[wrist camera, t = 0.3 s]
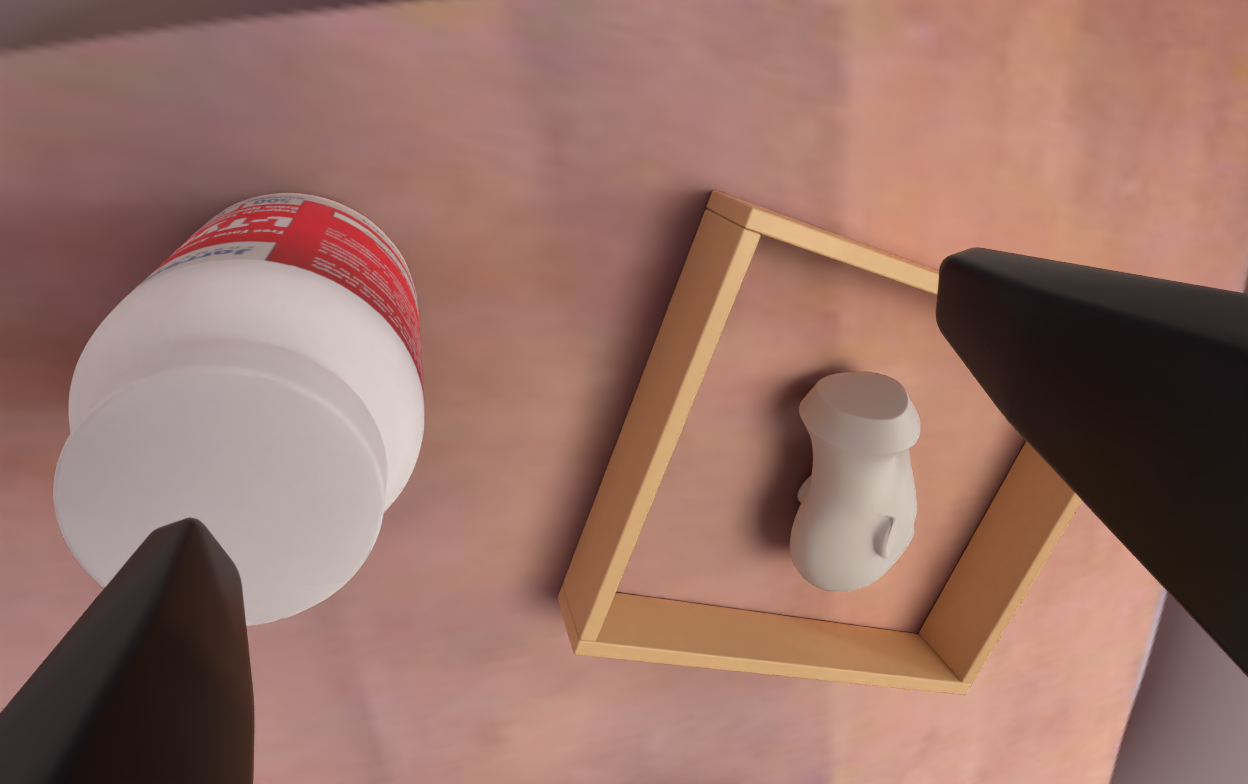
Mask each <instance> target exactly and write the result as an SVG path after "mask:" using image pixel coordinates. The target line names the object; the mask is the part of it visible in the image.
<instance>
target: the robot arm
mask: <svg viewBox="0 0 1248 784" xmlns="http://www.w3.org/2000/svg"><path fill="white" fill-rule="evenodd" d="M936 320H937V324H938V327H939V329H940V331H941V333H942V334H943V336H944V337H945V338H946V340H947V341H948V342H949V344H950V345H951V346H952V348H953V349H954V350H955V352H956V353H957V354H958V356H959V357H960V358H961V360H962V361H963V362H964V364H965V365H966V366H967V368H968V369H969V370H970V372H971V373H972V374H973V376H974V377H975V378H976V380H977V381H978V382H979V384H980V385H981V386H982V388H983V389H984V390H985V392H986V393H987V394H988V396H989V397H990V398H991V400H992V401H993V402H994V404H995V405H996V406H997V408H998V409H999V410H1000V411H1001V413H1002V414H1003V415H1004V416H1005V417H1006V419H1007V420H1008V421H1009V422H1010V423H1011V425H1012V426H1013V427H1014V428H1015V429H1016V430H1017V431H1018V432H1019V434H1020V435H1021V436H1022V437H1023V438H1024V439H1025V440H1026V441H1027V442H1028V443H1029V444H1030V445H1031V446H1032V448H1033V449H1034V450H1035V451H1036V452H1037V453H1038V454H1039V455H1040V456H1041V457H1042V458H1043V459H1044V460H1045V461H1046V462H1047V464H1048V465H1049V466H1050V467H1051V468H1052V469H1053V470H1054V471H1055V472H1056V473H1057V474H1058V475H1059V476H1060V477H1061V478H1062V480H1063V481H1064V482H1065V483H1066V484H1067V485H1068V486H1069V487H1070V488H1071V489H1072V490H1073V491H1074V492H1075V493H1076V494H1077V496H1078V497H1079V498H1080V499H1081V500H1082V501H1083V502H1084V503H1085V504H1086V505H1087V506H1088V507H1089V508H1090V509H1091V510H1092V512H1093V513H1094V514H1095V515H1096V516H1097V517H1098V518H1099V519H1100V520H1101V521H1102V522H1103V523H1104V524H1105V525H1106V526H1107V528H1108V529H1109V530H1110V531H1111V532H1112V533H1113V534H1114V535H1115V536H1116V537H1117V538H1118V539H1119V540H1120V541H1121V542H1122V544H1123V545H1124V546H1125V547H1126V548H1127V549H1128V550H1129V551H1130V552H1131V553H1132V554H1133V555H1134V556H1135V557H1136V558H1137V560H1138V561H1139V562H1140V563H1141V564H1142V565H1143V566H1144V567H1145V568H1146V569H1147V570H1148V571H1149V572H1150V573H1151V574H1152V576H1153V577H1154V578H1155V579H1156V580H1157V581H1158V582H1159V583H1160V584H1161V585H1162V586H1163V587H1164V588H1165V589H1166V590H1167V592H1168V593H1169V594H1170V595H1171V596H1172V597H1173V598H1174V599H1175V600H1176V601H1177V602H1178V603H1179V604H1180V605H1181V606H1182V608H1184V610H1185V611H1186V612H1187V613H1188V614H1189V615H1190V616H1191V617H1192V618H1193V619H1194V620H1195V621H1196V622H1197V623H1198V624H1199V626H1200V627H1201V628H1202V629H1203V630H1204V631H1205V632H1206V633H1207V634H1208V635H1209V636H1210V637H1211V638H1212V640H1213V641H1214V642H1215V643H1216V644H1217V645H1218V646H1219V647H1220V648H1221V649H1222V650H1223V651H1224V652H1225V653H1226V654H1227V655H1228V657H1229V658H1230V659H1231V660H1232V661H1233V662H1234V663H1235V664H1236V665H1237V666H1238V667H1239V668H1240V669H1241V670H1242V672H1243V673H1244V674H1245V675H1246V676H1247V677H1248V294H1246V293H1240V292H1234V291H1228V290H1222V289H1217V288H1211V287H1205V286H1199V285H1193V284H1188V283H1182V282H1176V281H1170V280H1164V279H1159V278H1153V277H1147V276H1141V275H1136V274H1130V273H1124V272H1118V271H1112V270H1107V269H1101V268H1095V267H1089V266H1083V265H1078V264H1072V263H1066V262H1060V261H1054V260H1049V259H1043V258H1037V257H1031V256H1025V255H1020V254H1014V253H1008V252H1002V251H996V250H991V249H985V248H970V249H967V250H965V251H962V252H959V253H956V254H953V255H950V256H948V257H946V258H945V259H944V260H943V262H942V263H941V266H940V270H939V280H938V291H937V303H936ZM253 772H254V696H253V684H252V675H251V665H250V656H249V646H248V637H247V627H246V618H245V608H244V599H243V589H242V582H241V578H240V574H239V572H238V569H237V567H236V565H235V564H234V562H233V561H232V559H231V558H230V557H229V556H228V554H227V553H226V552H225V550H224V549H223V548H222V547H221V545H220V544H219V543H218V541H217V540H216V539H215V537H214V536H213V535H212V534H211V532H210V531H209V530H208V528H207V527H206V526H205V525H204V524H203V523H202V522H201V521H200V520H198V519H197V518H191V517H189V518H185V519H182V520H179V521H176V522H173V523H170V524H168V525H165V526H162V527H159V528H157V529H155V530H153V531H152V532H151V533H150V534H149V535H148V537H147V538H146V539H145V540H144V541H143V543H142V544H141V545H140V546H139V547H138V549H137V550H136V551H135V552H134V553H133V555H132V556H131V557H130V558H129V559H128V561H127V562H126V563H125V564H124V565H123V567H122V568H121V569H120V570H119V571H118V573H117V574H116V575H115V576H114V577H113V579H112V580H111V581H110V582H109V583H108V585H107V586H106V587H105V588H104V589H103V591H102V592H101V593H100V594H99V595H98V597H97V598H96V599H95V600H94V601H93V603H92V604H91V605H90V606H89V607H88V609H87V610H86V611H85V612H84V613H83V615H82V616H81V617H80V618H79V619H78V621H77V622H76V623H75V624H74V625H73V627H72V628H71V629H70V630H69V631H68V633H67V634H66V635H65V636H64V637H63V639H62V640H61V641H60V642H59V643H58V645H57V646H56V647H55V648H54V649H53V651H52V652H51V653H50V654H49V655H48V657H47V658H46V659H45V660H44V661H43V663H42V664H41V665H40V666H39V667H38V669H37V670H36V671H35V672H34V673H33V675H32V676H31V677H30V678H29V679H28V681H27V682H26V683H25V684H24V685H23V687H22V688H21V689H20V690H19V691H18V693H17V694H16V695H15V696H14V697H13V699H12V700H11V701H10V702H9V703H8V705H7V706H6V707H5V708H4V709H3V711H2V712H1V713H0V784H253Z"/></svg>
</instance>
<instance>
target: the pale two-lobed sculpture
mask: <svg viewBox="0 0 1248 784" xmlns="http://www.w3.org/2000/svg"><path fill="white" fill-rule="evenodd" d="M799 414H800V417H801V419H802V421H803V423H804V424H805V426H806V428H807V430H808V432H809V435H810V437H811V441H812V447H813V468H812V475H811V476H810V477H809V478H808V479H807V480H806V481H805V482H804V483H803V484H802V486H801V487H800V489H799V491H798V495H797V496H798V500H799V501H800V503H801V505H800V507H799V510H798V512H797V514H796V517H795V520H794V523H793V526H792V531H791V536H790V551H791V557H792V560H793V563H794V565H795V567H796V569H797V570H798V572H799V573H800V574H801V575H802V576H803V578H805V579H806V580H807V581H808V582H809V583H811V584H812V585H814V586H816V587H818V588H821V589H824V590H827V591H834V592H847V591H853V590H857V589H860V588H863V587H866V586H868V585H870V584H872V583H874V582H875V581H877V580H878V579H879V578H881V577H882V576H883V575H884V574H885V573H886V572H887V571H888V570H889V569H890V568H891V567H892V566H893V565H894V564H895V562H896V561H897V560H898V559H899V557H900V556H901V555H902V554H903V552H904V551H905V550H906V548H907V546H908V545H909V543H910V541H911V540H912V538H913V535H914V524H913V523H914V521H915V517H916V513H917V501H916V490H915V484H914V478H913V472H912V467H911V461H910V454H909V448H911V447H912V446H913V445H914V444H915V443H916V442H917V440H918V438H919V435H920V419H919V415H918V412H917V410H916V408H915V406H914V405H913V403H912V401H911V399H910V397H909V395H908V393H907V392H906V390H905V388H904V387H903V386H902V385H901V384H900V383H899V382H898V381H896V380H894V379H893V378H890V377H888V376H885V375H882V374H878V373H872V372H844V373H837V374H832V375H829V376H826V377H824V378H822V379H820V380H819V381H818V382H817V383H816V384H815V386H814V387H813V388H812V389H811V390H810V391H809V393H808V394H807V395H806V396H805V398H804V399H803V400H802V401H801V403H800V405H799Z"/></svg>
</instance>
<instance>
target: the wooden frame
mask: <svg viewBox="0 0 1248 784" xmlns="http://www.w3.org/2000/svg"><path fill="white" fill-rule="evenodd" d="M759 233H760V234H762V235H765V236H768V237H771V238H774V239H777V240H780V241H783V242H785V243H788V244H791V245H794V246H797V247H800V248H803V249H806V250H808V251H811V252H814V253H817V254H820V255H823V256H826V257H829V258H832V259H834V260H837V261H840V262H843V263H846V264H849V265H852V266H855V267H857V268H860V269H863V270H866V271H869V272H872V273H875V274H878V275H880V276H883V277H886V278H889V279H892V280H895V281H898V282H901V283H903V284H906V285H909V286H912V287H915V288H918V289H921V290H924V291H926V292H929V293H932V294H935V295H937V291H938V280H939V271H937V270H935V269H932V268H929V267H926V266H924V265H921V264H918V263H915V262H913V261H910V260H907V259H904V258H902V257H899V256H896V255H893V254H891V253H888V252H885V251H882V250H880V249H877V248H874V247H871V246H869V245H866V244H863V243H860V242H857V241H855V240H852V239H849V238H846V237H844V236H841V235H838V234H835V233H833V232H830V231H827V230H824V229H822V228H819V227H816V226H813V225H811V224H808V223H805V222H802V221H800V220H797V219H794V218H791V217H789V216H786V215H783V214H780V213H778V212H775V211H772V210H769V209H767V208H764V207H761V206H758V205H755V204H753V203H750V202H747V201H744V200H742V199H739V198H736V197H733V196H731V195H728V194H725V193H722V192H720V191H717V190H713V191H712V194H711V196H710V199H709V201H708V204H707V209H706V210H705V212H704V215H703V217H702V220H701V222H700V225H699V228H698V230H697V233H696V236H695V238H694V241H693V243H692V246H691V249H690V251H689V254H688V257H687V259H686V262H685V264H684V267H683V270H682V272H681V275H680V278H679V280H678V283H677V285H676V288H675V291H674V293H673V296H672V299H671V301H670V304H669V306H668V309H667V312H666V314H665V317H664V320H663V322H662V325H661V327H660V330H659V333H658V335H657V338H656V341H655V343H654V346H653V348H652V351H651V354H650V356H649V359H648V362H647V364H646V367H645V369H644V372H643V375H642V377H641V380H640V383H639V385H638V388H637V390H636V393H635V396H634V398H633V401H632V404H631V406H630V409H629V411H628V414H627V417H626V419H625V422H624V425H623V427H622V430H621V432H620V435H619V438H618V440H617V443H616V446H615V448H614V451H613V453H612V456H611V459H610V461H609V464H608V467H607V469H606V472H605V474H604V477H603V480H602V482H601V485H600V488H599V490H598V493H597V495H596V498H595V501H594V503H593V506H592V509H591V511H590V514H589V516H588V519H587V522H586V524H585V527H584V530H583V532H582V535H581V537H580V540H579V543H578V545H577V548H576V551H575V553H574V556H573V558H572V561H571V564H570V566H569V569H568V572H567V574H566V577H565V579H564V582H563V585H562V587H561V590H560V592H559V595H558V602H559V605H560V608H561V612H562V615H563V619H564V622H565V625H566V629H567V632H568V636H569V639H570V642H571V646H572V649H573V653H574V654H575V655H584V656H593V657H603V658H613V659H622V660H632V661H642V662H651V663H661V664H671V665H680V666H690V667H700V668H709V669H719V670H729V671H738V672H748V673H758V674H767V675H777V676H786V677H796V678H806V679H815V680H825V681H835V682H844V683H854V684H864V685H873V686H883V687H893V688H902V689H912V690H922V691H931V692H941V693H951V694H960V695H966V693H967V692H968V690H969V688H970V687H971V685H972V684H971V683H973V682H974V680H975V678H976V677H977V675H978V673H979V672H980V670H981V668H982V667H983V665H984V663H985V662H986V660H987V658H988V657H989V655H990V653H991V652H992V650H993V648H994V647H995V645H996V643H997V642H998V640H999V638H1000V637H1001V635H1002V633H1003V632H1004V630H1005V628H1006V627H1007V625H1008V623H1009V622H1010V620H1011V618H1012V617H1013V615H1014V613H1015V612H1016V610H1017V608H1018V607H1019V605H1020V603H1021V602H1022V600H1023V598H1024V597H1025V595H1026V593H1027V592H1028V590H1029V588H1030V587H1031V585H1032V583H1033V582H1034V580H1035V578H1036V577H1037V575H1038V573H1039V572H1040V570H1041V568H1042V567H1043V565H1044V563H1045V562H1046V560H1047V558H1048V557H1049V555H1050V553H1051V552H1052V550H1053V548H1054V547H1055V545H1056V543H1057V542H1058V540H1059V538H1060V537H1061V535H1062V533H1063V532H1064V530H1065V528H1066V527H1067V525H1068V523H1069V522H1070V520H1071V518H1072V517H1073V515H1074V513H1075V512H1076V510H1077V508H1078V507H1079V505H1080V503H1081V502H1082V500H1081V499H1080V498H1079V497H1078V496H1077V494H1076V493H1075V492H1074V491H1073V490H1072V489H1071V488H1070V487H1069V486H1068V485H1067V484H1066V483H1065V482H1064V481H1063V480H1062V478H1061V477H1060V476H1059V475H1058V474H1057V473H1056V472H1055V471H1054V470H1053V469H1052V468H1051V467H1050V466H1049V465H1048V464H1047V462H1046V461H1045V460H1044V459H1043V458H1042V457H1041V456H1040V455H1039V454H1038V453H1037V452H1036V451H1035V450H1034V449H1033V448H1032V446H1031V445H1030V444H1029V443H1028V442H1027V441H1026V442H1025V444H1024V446H1023V448H1022V450H1021V451H1020V453H1019V455H1018V457H1017V459H1016V460H1015V462H1014V464H1013V466H1012V467H1011V469H1010V471H1009V473H1008V475H1007V476H1006V478H1005V480H1004V482H1003V484H1002V485H1001V487H1000V489H999V491H998V492H997V494H996V496H995V498H994V500H993V501H992V503H991V505H990V507H989V509H988V510H987V512H986V514H985V516H984V517H983V519H982V521H981V523H980V525H979V526H978V528H977V530H976V532H975V533H974V535H973V537H972V539H971V541H970V542H969V544H968V546H967V548H966V550H965V551H964V553H963V555H962V557H961V558H960V560H959V562H958V564H957V566H956V567H955V569H954V571H953V573H952V575H951V576H950V578H949V580H948V582H947V583H946V585H945V587H944V589H943V591H942V592H941V594H940V596H939V598H938V600H937V601H936V603H935V605H934V607H933V608H932V610H931V612H930V614H929V616H928V617H927V619H926V621H925V623H924V624H923V626H922V628H921V630H920V632H919V634H914V633H907V632H899V631H892V630H885V629H878V628H870V627H863V626H856V625H848V624H841V623H834V622H827V621H819V620H812V619H805V618H798V617H790V616H783V615H776V614H769V613H761V612H754V611H747V610H740V609H732V608H725V607H718V606H710V605H703V604H696V603H689V602H681V601H674V600H667V599H660V598H652V597H645V596H638V595H631V594H623V593H616V590H617V588H618V585H619V583H620V581H621V578H622V576H623V573H624V571H625V568H626V566H627V563H628V561H629V558H630V556H631V554H632V551H633V549H634V546H635V544H636V541H637V539H638V536H639V534H640V531H641V529H642V527H643V524H644V522H645V519H646V517H647V514H648V512H649V509H650V507H651V504H652V502H653V500H654V497H655V495H656V492H657V490H658V487H659V485H660V482H661V480H662V477H663V475H664V473H665V470H666V468H667V465H668V463H669V460H670V458H671V455H672V453H673V450H674V448H675V446H676V443H677V441H678V438H679V436H680V433H681V431H682V428H683V426H684V423H685V421H686V419H687V416H688V414H689V411H690V409H691V406H692V404H693V401H694V399H695V396H696V394H697V392H698V389H699V387H700V384H701V382H702V379H703V377H704V374H705V372H706V369H707V367H708V365H709V362H710V360H711V357H712V355H713V352H714V350H715V347H716V345H717V342H718V340H719V338H720V335H721V333H722V330H723V328H724V325H725V323H726V320H727V318H728V315H729V313H730V311H731V308H732V306H733V303H734V301H735V298H736V296H737V293H738V291H739V288H740V286H741V284H742V281H743V279H744V276H745V274H746V271H747V269H748V266H749V264H750V261H751V259H752V256H753V254H754V252H755V249H756V247H757V244H758V242H759V239H760V237H761V235H760V234H759Z"/></svg>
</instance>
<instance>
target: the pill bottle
mask: <svg viewBox="0 0 1248 784" xmlns="http://www.w3.org/2000/svg"><path fill="white" fill-rule="evenodd" d="M421 353H422V351H421V343H420V327H419V311H418V301H417V295H416V291H415V286H414V283H413V280H412V276H411V274H410V271H409V269H408V266H407V264H406V262H405V260H404V258H403V257H402V255H401V253H400V252H399V250H398V249H397V247H396V246H395V245H394V243H393V242H392V241H391V240H390V239H389V238H388V236H387V235H386V234H385V233H384V232H383V231H382V230H381V229H380V228H379V227H378V226H376V225H375V224H374V223H373V222H371V221H370V220H369V219H367V218H366V217H364V216H363V215H361V214H360V213H358V212H356V211H355V210H353V209H351V208H349V207H347V206H345V205H343V204H340V203H338V202H335V201H332V200H329V199H326V198H323V197H319V196H314V195H309V194H302V193H275V194H267V195H262V196H257V197H253V198H250V199H247V200H244V201H241V202H238V203H236V204H234V205H232V206H230V207H228V208H226V209H225V210H223V211H222V212H220V213H219V214H217V215H216V216H214V217H213V218H212V219H210V220H209V221H208V222H207V223H205V224H204V225H203V226H202V227H201V228H200V229H198V230H197V231H196V232H195V233H194V234H193V235H192V236H191V237H190V238H189V239H188V240H187V241H186V242H185V243H183V244H182V245H181V246H180V247H179V248H178V249H177V250H176V251H175V252H174V253H173V254H172V255H171V256H170V257H169V258H167V259H166V260H165V261H164V262H163V263H162V264H161V265H160V266H159V267H158V268H157V269H155V270H154V271H153V272H152V273H151V274H150V275H149V276H148V277H147V278H146V279H145V280H144V281H143V282H142V283H141V284H139V285H138V286H137V287H136V288H135V289H134V290H133V291H132V292H131V293H129V294H128V295H127V296H126V297H125V298H124V299H123V300H122V301H120V302H119V304H118V305H117V306H116V307H115V308H114V309H113V310H112V311H111V312H110V314H109V315H108V316H107V317H106V318H105V319H104V320H103V322H102V323H101V324H100V325H99V327H98V328H97V329H96V331H95V332H94V333H93V335H92V336H91V338H90V339H89V341H88V343H87V344H86V346H85V348H84V350H83V352H82V354H81V356H80V358H79V360H78V363H77V365H76V368H75V371H74V374H73V378H72V383H71V387H70V394H69V426H70V433H71V434H70V436H69V437H68V439H67V440H66V443H65V445H64V447H63V449H62V452H61V454H60V457H59V460H58V463H57V466H56V471H55V477H54V486H53V501H54V506H55V510H56V513H55V515H56V518H57V521H58V524H59V527H60V530H61V533H62V536H63V538H64V540H65V542H66V544H67V545H68V547H69V549H70V551H71V552H72V554H73V555H74V557H75V558H76V560H77V561H78V562H79V563H80V564H81V566H82V567H83V568H84V569H85V571H86V572H87V573H88V574H89V575H90V576H91V577H92V578H93V579H95V580H96V581H97V582H98V583H99V584H100V585H101V586H102V587H104V588H105V587H106V586H107V585H108V583H109V582H110V581H111V580H112V579H113V577H114V576H115V575H116V574H117V573H118V571H119V570H120V569H121V568H122V567H123V565H124V564H125V563H126V562H127V561H128V559H129V558H130V557H131V556H132V555H133V553H134V552H135V551H136V550H137V549H138V547H139V546H140V545H141V544H142V543H143V541H144V540H145V539H146V538H147V537H148V535H149V534H150V533H151V532H152V531H153V530H155V529H157V528H159V527H162V526H165V525H168V524H170V523H173V522H176V521H179V520H182V519H185V518H189V517H191V518H197V519H198V520H200V521H201V522H202V523H203V524H204V525H205V526H206V527H207V528H208V530H209V531H210V532H211V534H212V535H213V536H214V537H215V539H216V540H217V541H218V543H219V544H220V545H221V547H222V548H223V549H224V550H225V552H226V553H227V554H228V556H229V557H230V558H231V559H232V561H233V562H234V564H235V565H236V567H237V569H238V572H239V574H240V578H241V582H242V589H243V599H244V608H245V618H246V626H252V625H259V624H265V623H269V622H273V621H278V620H281V619H284V618H287V617H290V616H293V615H295V614H297V613H300V612H302V611H304V610H307V609H309V608H311V607H313V606H314V605H316V604H318V603H320V602H322V601H324V600H325V599H327V598H328V597H330V596H331V595H332V594H334V593H335V592H336V591H337V590H339V589H340V588H341V587H343V586H344V585H345V584H346V583H347V582H348V581H349V580H350V579H351V578H352V577H353V576H354V574H355V573H356V572H357V571H358V570H359V569H360V567H361V566H362V565H363V563H364V562H365V560H366V559H367V557H368V556H369V554H370V552H371V550H372V549H373V547H374V544H375V542H376V540H377V537H378V534H379V531H380V528H381V525H382V519H383V514H384V512H385V511H386V510H387V509H388V508H389V507H390V506H391V505H392V503H393V502H394V501H395V500H396V498H397V497H398V496H399V495H400V493H401V492H402V490H403V489H404V487H405V485H406V484H407V482H408V480H409V478H410V476H411V474H412V472H413V470H414V467H415V465H416V462H417V459H418V456H419V452H420V448H421V444H422V439H423V431H424V422H425V416H424V389H423V370H422V355H421Z"/></svg>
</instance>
